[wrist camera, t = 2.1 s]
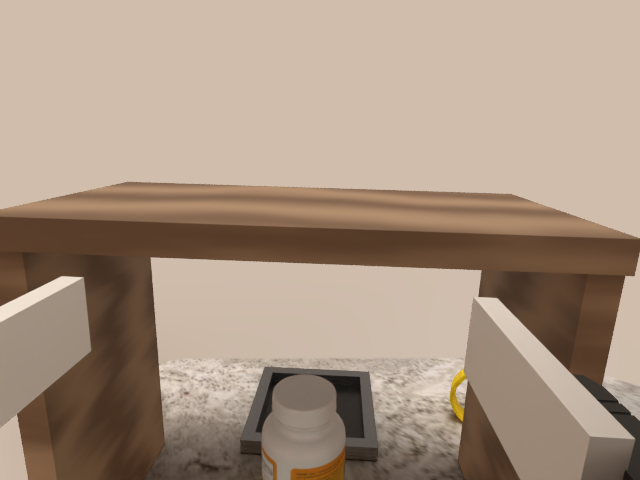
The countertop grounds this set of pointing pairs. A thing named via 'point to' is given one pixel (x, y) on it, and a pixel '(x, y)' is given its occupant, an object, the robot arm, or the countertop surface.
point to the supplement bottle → (303, 432)
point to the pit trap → (349, 406)
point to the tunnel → (292, 247)
